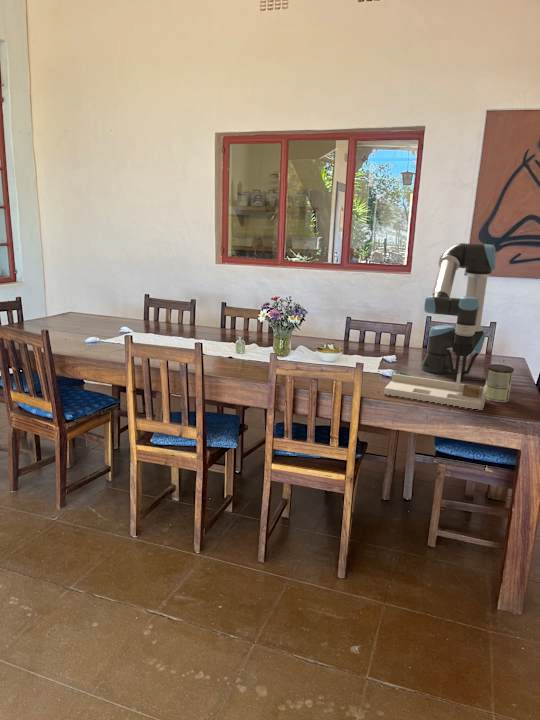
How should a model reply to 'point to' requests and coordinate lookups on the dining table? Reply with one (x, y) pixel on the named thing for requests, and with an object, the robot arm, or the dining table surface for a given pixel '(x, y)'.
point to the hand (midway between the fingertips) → (457, 388)
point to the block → (471, 390)
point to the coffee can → (498, 382)
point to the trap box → (434, 391)
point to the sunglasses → (400, 374)
